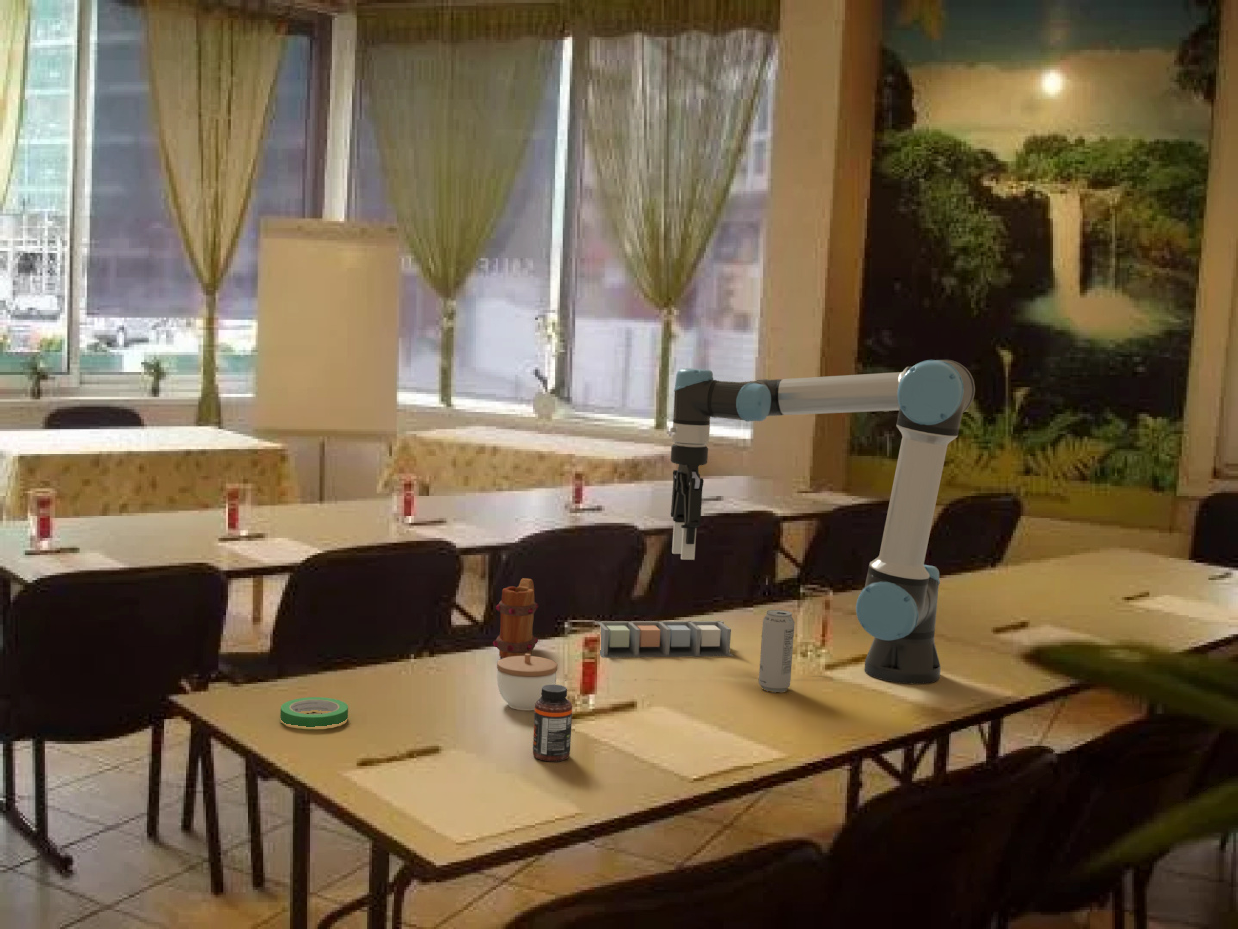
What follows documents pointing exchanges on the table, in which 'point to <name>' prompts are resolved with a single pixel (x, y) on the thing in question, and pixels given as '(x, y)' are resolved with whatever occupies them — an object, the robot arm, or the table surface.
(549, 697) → the supplement bottle
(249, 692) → the table surface
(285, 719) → the tape roll
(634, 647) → the grey compartment rack
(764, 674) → the energy drink can
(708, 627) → the ivory key
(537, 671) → the lidded jar
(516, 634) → the mug
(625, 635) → the sage key
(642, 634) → the terracotta key
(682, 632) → the slate key
